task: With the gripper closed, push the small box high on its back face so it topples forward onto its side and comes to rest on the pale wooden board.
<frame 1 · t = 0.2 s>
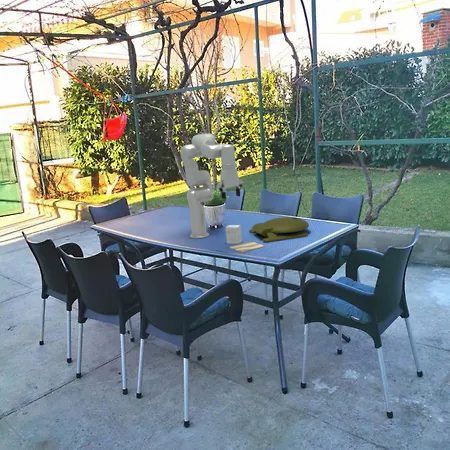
hand: (231, 197, 267), 31 cm above the table, tool pointing down, fingers open, 9 cm apart
small box: (234, 243, 289), on the table
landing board: (247, 247, 277), on the table
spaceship: (281, 234, 302), on the table
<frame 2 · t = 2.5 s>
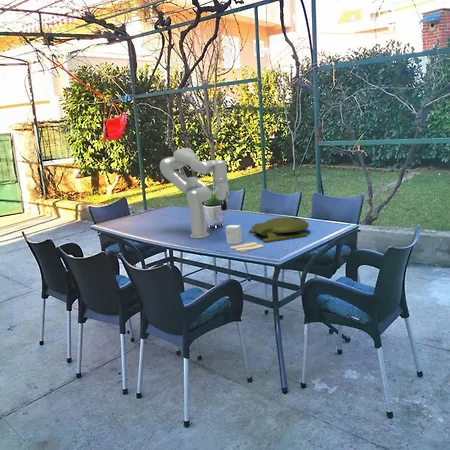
hand: (224, 210, 293), 19 cm above the table, tool pointing down, fingers closed
nothing on the table moved.
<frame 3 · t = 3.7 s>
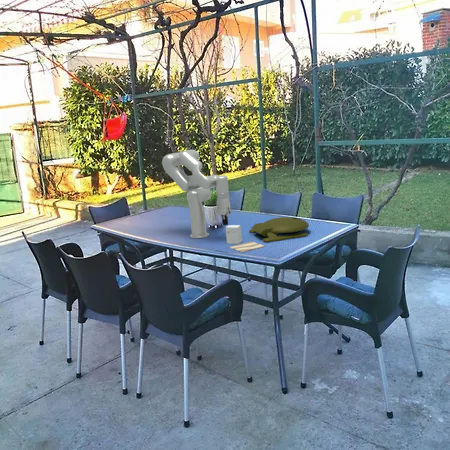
hand: (225, 224, 295), 10 cm above the table, tool pointing down, fingers closed
nothing on the table moved.
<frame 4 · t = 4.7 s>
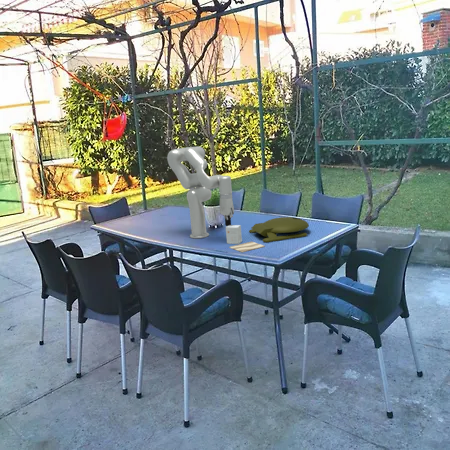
hand: (228, 225, 292), 10 cm above the table, tool pointing down, fingers closed
small box: (234, 243, 289), on the table, touching gripper
everything else where it was.
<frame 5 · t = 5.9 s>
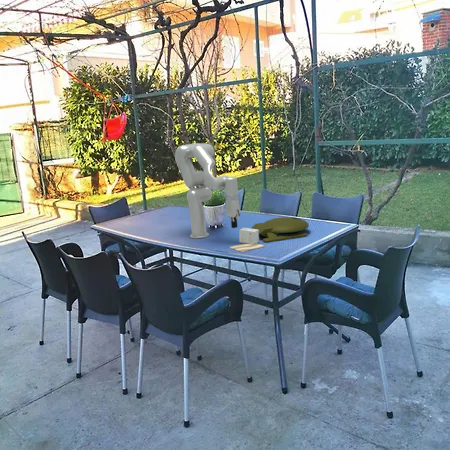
hand: (234, 227, 286), 10 cm above the table, tool pointing down, fingers closed
small box: (240, 234, 286), point 5 cm above the table, touching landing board
everything else where it was.
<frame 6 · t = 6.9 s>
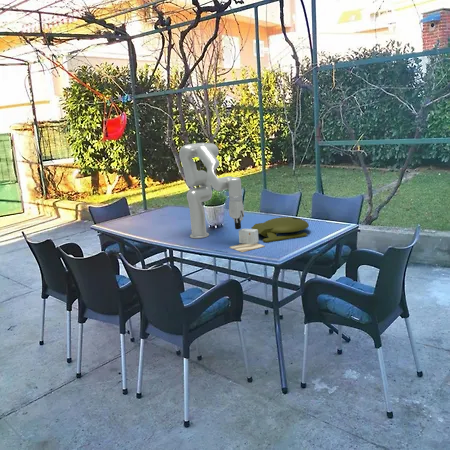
hand: (238, 228, 282), 10 cm above the table, tool pointing down, fingers closed
nothing on the table moved.
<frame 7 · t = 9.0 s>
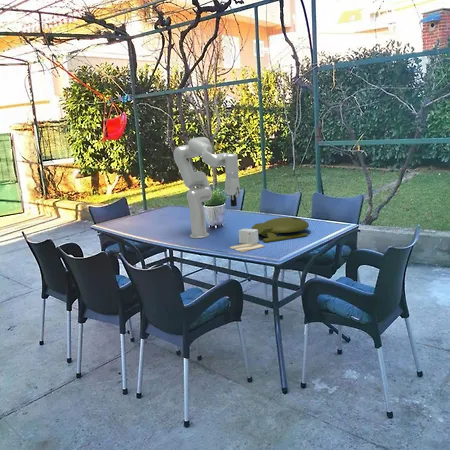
hand: (233, 205, 280), 23 cm above the table, tool pointing down, fingers closed
nothing on the table moved.
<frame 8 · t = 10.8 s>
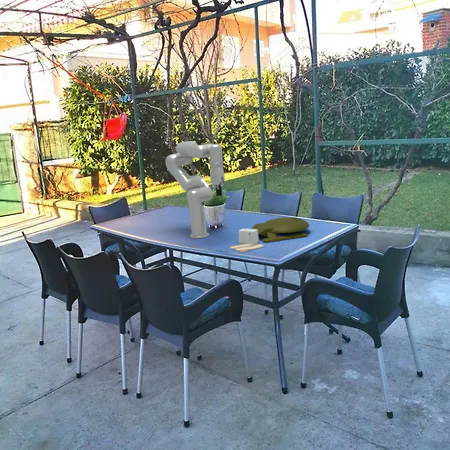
hand: (219, 195, 287), 29 cm above the table, tool pointing down, fingers closed
nothing on the table moved.
at the end: small box tilted 91°; small box touching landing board; the gripper is holding nothing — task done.
